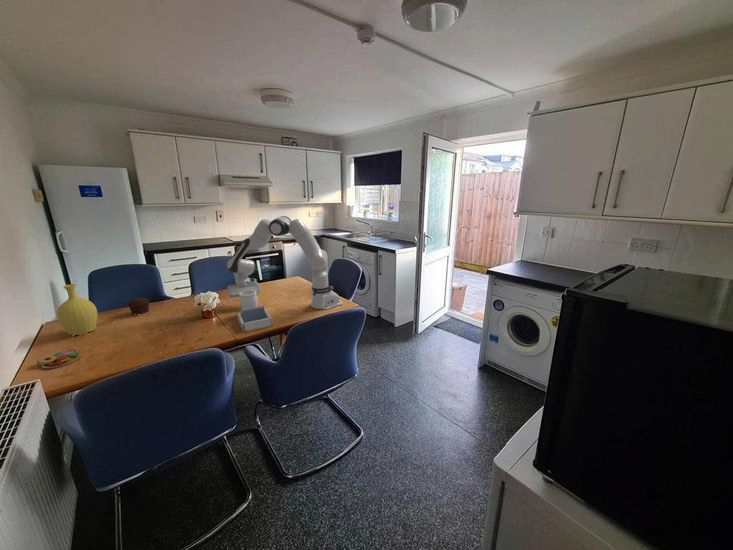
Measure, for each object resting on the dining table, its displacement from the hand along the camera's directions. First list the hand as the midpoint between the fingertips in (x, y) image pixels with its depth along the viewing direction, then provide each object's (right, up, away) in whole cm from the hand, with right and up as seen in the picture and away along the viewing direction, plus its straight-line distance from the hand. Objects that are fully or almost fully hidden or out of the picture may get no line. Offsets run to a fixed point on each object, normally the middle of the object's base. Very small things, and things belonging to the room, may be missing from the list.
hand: (246, 300), depth 198 cm
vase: (-81, -15, -31) cm, 88 cm away
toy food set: (-63, -24, -59) cm, 90 cm away
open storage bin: (+13, -12, -19) cm, 26 cm away
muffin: (-68, -8, -4) cm, 69 cm away
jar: (+5, -9, -6) cm, 11 cm away
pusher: (+11, -11, -17) cm, 23 cm away
